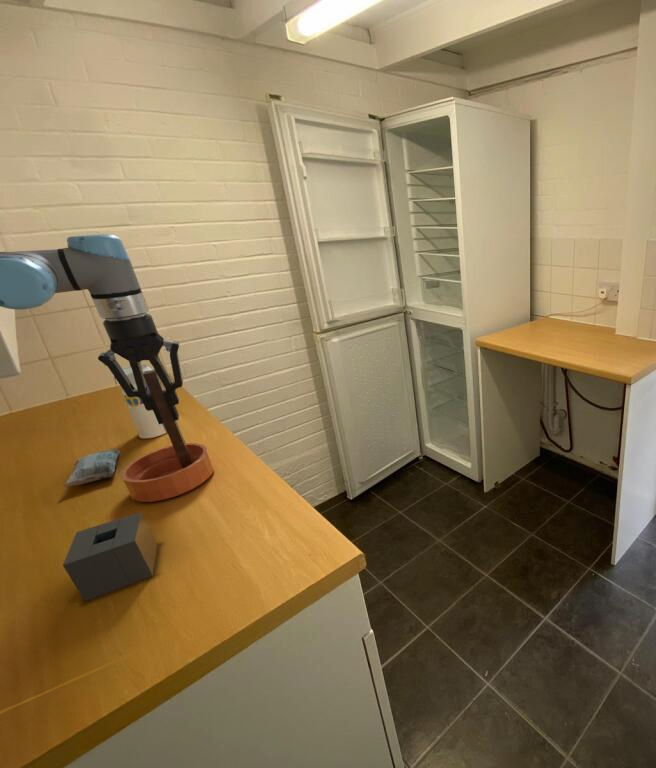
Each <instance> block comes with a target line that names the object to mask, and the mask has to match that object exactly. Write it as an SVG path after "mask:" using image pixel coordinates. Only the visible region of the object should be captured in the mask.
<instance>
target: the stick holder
mask: <svg viewBox="0 0 656 768" xmlns="http://www.w3.org/2000/svg"><path fill="white" fill-rule="evenodd" d="M70 544H71V545H70V546H69V549H68V552H67V553H66V556H65V559H64V561H63V563H62V567H63V569H64V570H65V572H66V573H67V575H68V576H69V578H70V579H71V581H72V583H73V584H74V586H75V588H76V589H77V591H78V592H79V594H80V596H81V597H82V599H83V600H84V602H87V601H90V600H93V599H96V598H98V597H100V596H104V595H105V594H108V593H111V592H113V591H117V590H119V589H123V588H125V587H127V586H130V585H132V584H135V583H138V582H141V581H142V580H146V579H148V578H151V577H153V575H154V569H155V563H156V557H157V551H158V543H157V541H156V539H155V537H154V535H153V533H152V531H151V528H150V527H149V524H148V523H147V520H146V519H145V516H144V514H143V512H142V511H140V512H137V513H132V514H130V515H127V516H124V517H120V518H117V519H114V520H111V521H108V522H104V523H101V524H98V525H93V526H92V527H88V528H85V529H82V530H78V531H76V532H75V534H74V537H73V539H72V542H71V543H70Z"/></svg>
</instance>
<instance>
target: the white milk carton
mask: <svg viewBox="0 0 656 768" xmlns="http://www.w3.org/2000/svg"><path fill="white" fill-rule="evenodd" d="M104 367H107V366H106V365H105V364H104ZM141 367H142V371H143V373H144V372H145V371H150V370H153V369H152V368H151V367H150V366H149V365H147V364H141ZM121 368H122V369H123V371H124V372H125V374H126V375H127V377H128V379H129V380H130V382H131V383H132V385H133V386H134V388H135V389H137V386H136V382H135V379H134V375H133V371H132V368H131V366H130V365H128V366H123V367H121ZM112 377H113V380H114V383H115V385H116V386H118V381H117V380H116V378H115V377H114V375H113V374H112ZM145 382H146V381H145ZM146 385H147V383H146ZM147 389H148V394H149V393H151V392H150V390H149V388H148V385H147ZM121 395H122V396H124V402H125V404H126V405H127V410H128V412H129V415H130V417H131V419H132V422H133V424H134V426H135V430H136V432H137V435H138V438H140V439H151V438H157V437H160V436H163V435H165V434H168V433H167V431H166V428H165V426H164V423H163V424H159V423H158V421H157V419H156V416H155V414H154V412H153V410H150V411H147V410H146V409H145V406H144V404H143V402H142V399H141V398H140V397H128V396H127V395H126V393H125V392H124V390H123V389H122V390H121Z"/></svg>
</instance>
